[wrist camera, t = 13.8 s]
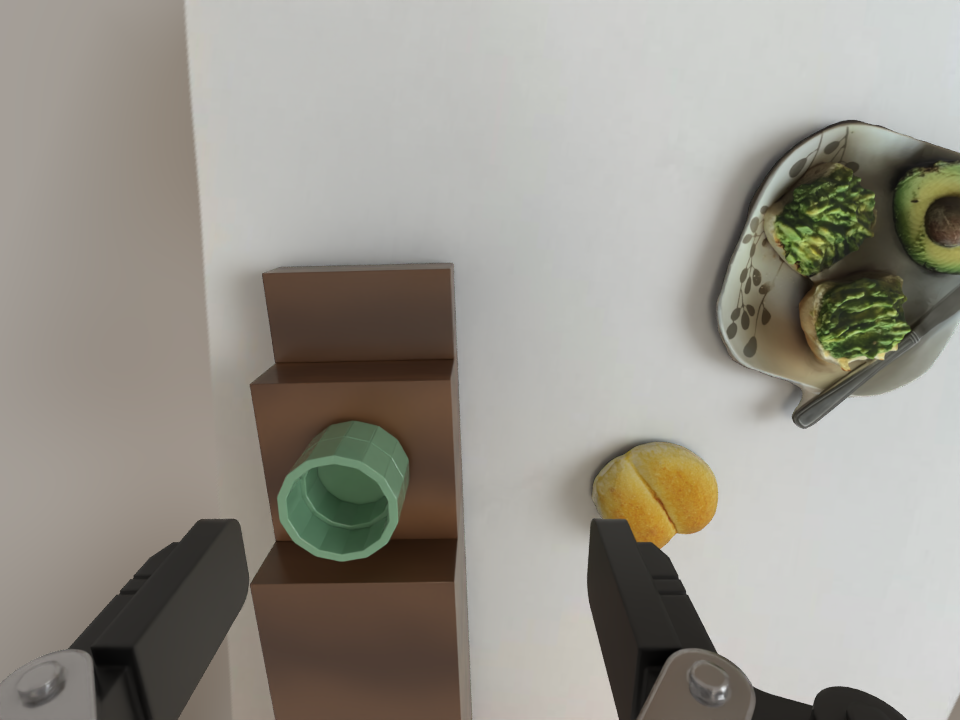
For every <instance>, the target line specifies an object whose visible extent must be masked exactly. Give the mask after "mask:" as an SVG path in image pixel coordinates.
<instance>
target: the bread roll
mask: <svg viewBox="0 0 960 720" xmlns="http://www.w3.org/2000/svg"><path fill="white" fill-rule="evenodd" d="M592 499H593V501H594V504H595V506H596V508H597V510H598V512H599V514H600V516H601V517H602V519H626V520H627V521H628V523H629V526H630V528H631V530H632V532H633V535H634V537H635V539H636V542H652V543H653V544H655V545H656V546H657V547H658V548H659V549H661V548H662V547H663V546H664V545H666V544H667V543H668V542H669V541H670V539H671V538H672V537H673V536H674V535H675V534H676V533H679V534H692V533H695V532H698V531H700V530H701V529H703V528H704V527H705V526H706V525H707V524H708V523H709V522H710V521H711V520H712V518H713V516H714V514H715V512H716V508H717V502H718V487H717V482H716V479H715V476H714V474H713V472H712V470H711V469H710V467H709V466H708V464H706V463H705V462H704V461H703V460H702V459H701V458H700V457H699V456H697V455H696V454H694V453H693V452H691V451H690V450H688V449H686V448H684V447H682V446H679V445H676V444H672V443H667V442H651V443H646V444H642V445H639V446H636V447H634V448H632V449H631V450H630V451H628V452H627V453H626V454H624V455H622V456H619V457H616V458H614V459H613V460H612V461H610V462H609V463H608V464H607V465H605V467H604V468H603V469H602V470H601V471H600V472H599V474H598V475H597V477H596V478H595V480H594V484H593V490H592Z"/></svg>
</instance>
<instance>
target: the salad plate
mask: <svg viewBox="0 0 960 720" xmlns="http://www.w3.org/2000/svg"><path fill="white" fill-rule="evenodd" d="M716 307H717V312H716V314H717V322H718V332H719V334H720V336H721V338H722V341H723V343H724V345H725V347H726V349H727V351H728V353H729V356H730V357H731V358H732V360H734V361H735V362H737V363H739V364H741V365H743V366H744V367H747V368H750V369H754V370H757V371H759V372H761V373H764V374H767V375H769V376H771V377H776V378H779V379H782V380H787V381H789V382H791V383H792V384H794V385H797V386H798V387H800V388H801V389H802V393H803V395H802V399H801V401H800V403H799V405H798V406H797V407H796V408H795V410H794V412H793V414H792V419H793V422H794V423H795V424H796V425H797V426H798V427H799V428H802V429H806V428H808V427H810V426H812V425H814V424H815V423H816V422H818V421H819V420H820V419H821V418H823V417H824V416H825V415H827V414H828V413H829V412H830V411H831V410H833V409H834V408H835V407H836V406H837V405H839V404H840V403H841V402H842V401H843V400H845V399H846V398H847V397H869V396H877V395H881V394H885V393H888V392H890V391H893V390H896V389H898V388H900V387H903V386H905V385H907V384H909V383H911V382H913V381H915V380H917V379H918V378H920V377H921V376H922V375H924V374H925V373H926V372H927V371H928V370H929V369H930V368H931V367H932V366H933V364H934V362H935V361H936V359H937V358H938V357H939V356H940V354H941V353H942V351H943V350H944V349H945V347H946V345H947V343H948V342H949V340H950V338H951V336H952V335H953V333H954V331H955V329H956V327H957V326H958V324H959V322H960V153H958V152H955V151H952V150H949V149H946V148H943V147H940V146H936V145H933V144H931V143H928V142H925V141H921V140H917V139H914V138H912V137H910V136H907V135H903V134H899V133H897V132H894V131H892V130H889V129H887V128H885V127H882V126H879V125H872V124H868V123H864V122H861V121H857V120H847V121H841V122H838V123H836V124H833V125H830V126H827V127H826V128H824V129H822V130H820V131H818V132H816V133H814V134H812V135H811V136H809V137H807V138H805V139H804V140H802V141H801V142H799V143H798V144H797V145H795V146H794V147H793V148H792V149H791V150H789V151H788V152H787V153H786V154H785V155H783V156H782V157H781V159H780V160H779V161H778V162H777V163H776V164H775V165H774V167H773V168H772V169H771V171H770V172H769V173H768V175H767V176H766V177H765V179H764V180H763V182H762V183H761V185H760V186H759V188H758V190H757V191H756V193H755V195H754V197H753V199H752V201H751V203H750V206H749V210H748V217H747V221H746V224H745V227H744V229H743V231H742V234H741V236H740V239H739V241H738V243H737V245H736V248H735V250H734V253H733V254H732V256H731V259H730V262H729V265H728V268H727V273H726V275H725V279H724V282H723V286H722V289H721V293H720V295H719V297H718V300H717V304H716Z"/></svg>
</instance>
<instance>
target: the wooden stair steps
mask: <svg viewBox="0 0 960 720" xmlns="http://www.w3.org/2000/svg"><path fill="white" fill-rule="evenodd" d="M262 277H263V283H264V290H265V297H266V304H267V310H268V317H269V324H270V331H271V337H272V344H273V351H274V357H275V363H276V364H274V365H273V366H272V367H271V368H269V369H268V370H267V371H266V372H264V373H263V374H262V375H261V376H260V377H258V378H257V379H256V380H255V381H253V382H252V383H251V384H250V389H251V395H252V401H253V407H254V413H255V419H256V425H257V431H258V437H259V443H260V449H261V455H262V461H263V467H264V473H265V479H266V485H267V491H268V497H269V503H270V509H271V515H272V521H273V527H274V533H275V539H276V542H275V544H274V546H273V547H272V549H271V551H270V552H269V554H268V555H267V557H266V559H265V560H264V562H263V564H262V565H261V567H260V569H259V570H258V572H257V574H256V575H255V577H254V579H253V580H252V582H251V584H250V588H251V593H252V598H253V604H254V609H255V614H256V620H257V625H258V630H259V635H260V641H261V646H262V651H263V657H264V662H265V667H266V673H267V678H268V683H269V688H270V694H271V699H272V704H273V710H274V715H275V720H472V704H471V680H470V655H469V630H468V606H467V581H466V556H465V531H464V507H463V484H462V483H463V482H462V458H461V433H460V408H459V384H458V359H457V335H456V310H455V286H454V264H453V263H425V264H385V265H344V266H304V267H279V268H276V269H273V270H270V271H268V272H265V273H262ZM348 421H359V422H364V423H368V424H373V425H377V426H380V427H381V428H382V429H384V430H385V431H386V432H388V433H389V434H391V435H392V436H393V437H395V438H396V439H397V440H398V441H399V443H400V445H401V446H402V448H403V450H404V452H405V454H406V455H407V457H408V459H409V484H408V488H407V491H406V495H405V499H404V503H403V506H402V510H401V514H400V518H399V521H398V524H397V526H396V528H395V530H394V532H393V534H392V536H391V538H390V540H389V542H388V543H387V544H386V545H385V546H383V547H382V548H380V549H379V550H377V551H376V552H374V553H373V554H371V555H370V556H368V557H366V558H361V559H355V560H350V561H344V562H342V561H341V562H340V561H335V560H330V559H326V558H321V557H316V556H314V555H313V554H311V553H310V552H308V551H307V550H305V549H303V548H302V547H300V546H299V545H297V544H296V543H294V542H293V540H292V539H291V537H290V536H289V534H288V533H287V531H286V530H285V528H284V527H283V525H282V524H281V522H280V520H279V511H278V502H277V496H278V493H279V491H280V489H281V487H282V484H283V482H284V480H285V477H286V476H287V474H288V473H289V471H290V470H291V468H292V467H293V466H294V464H295V463H296V461H297V460H298V459H299V457H300V456H301V454H302V453H303V452H304V450H305V449H306V447H307V446H308V445H309V443H310V442H311V440H312V439H313V438H314V437H315V436H316V435H318V434H319V433H320V432H322V431H323V430H324V429H326V428H327V427H328V426H330V425H333V424H338V423H343V422H348Z"/></svg>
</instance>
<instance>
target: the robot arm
mask: <svg viewBox="0 0 960 720" xmlns="http://www.w3.org/2000/svg"><path fill="white" fill-rule="evenodd" d="M248 586H249V573H248V567H247V562H246V556H245V550H244V544H243V538H242V532H241V527H240V524H239V522H238V521H237V520H236V519H201V520H199V521H197V522H196V524H195V525H194V526H193V527H192V528H191V530H190V531H189V532H188V533H187V534H186V535H185V536H184V538H183V539H182V540H181V541H180V542H173V543H171V544H170V545H168V546H167V547H165V548H164V549H162V550H161V551H159V552H158V553H156V554H155V555H153V556H152V557H150V558H149V559H148V561H147V562H146V563H145V564H144V565H143V566H142V567H141V568H140V569H139V570H138V572H137V573H136V574H135V575H134V578H133V579H130V580H129V582H128V583H127V584H126V585H125V586H124V587H123V588H122V589H121V590H120V594H119V595H116V596H115V597H114V598H113V599H112V601H111V602H110V603H109V604H108V605H107V606H106V607H105V608H104V609H103V610H102V612H101V613H100V614H99V615H98V616H97V617H96V618H95V619H94V620H93V622H92V623H91V624H90V625H89V626H88V627H87V628H86V629H85V631H84V632H83V633H82V634H81V635H80V636H79V637H78V638H77V639H76V640H75V642H74V643H73V644H72V645H71V646H70V648H68V649H66V650H60V651H56V652H52V653H49V654H46V655H44V656H41V657H39V658H36V659H34V660H32V661H30V662H29V663H27V664H25V665H24V666H22V667H20V668H19V669H17V670H16V671H14V672H13V673H12V674H10V675H9V676H8V677H7V678H6V679H5V680H3V681H2V682H1V683H0V720H178V718H179V716H180V714H181V712H182V711H183V709H184V707H185V706H186V704H187V702H188V700H189V699H190V697H191V695H192V693H193V692H194V690H195V688H196V686H197V685H198V683H199V681H200V679H201V678H202V676H203V674H204V673H205V671H206V669H207V667H208V666H209V664H210V662H211V660H212V658H213V657H214V655H215V653H216V652H217V650H218V648H219V646H220V645H221V643H222V641H223V639H224V638H225V636H226V634H227V632H228V631H229V629H230V627H231V625H232V624H233V622H234V620H235V619H236V617H237V615H238V613H239V612H240V610H241V608H242V606H243V604H244V602H245V599H246V596H247V592H248ZM587 588H588V597H589V604H590V608H591V612H592V616H593V620H594V623H595V627H596V631H597V635H598V639H599V643H600V647H601V651H602V655H603V659H604V662H605V666H606V670H607V674H608V678H609V682H610V686H611V690H612V694H613V698H614V701H615V705H616V709H617V713H618V717H619V720H907V719H906V718H905V717H904V716H903V715H902V714H900V713H899V712H898V711H897V710H895V709H894V708H893V707H891V706H890V705H888V704H887V703H886V702H884V701H882V700H880V699H879V698H877V697H875V696H873V695H871V694H868V693H866V692H863V691H860V690H858V689H853V688H849V687H841V686H838V687H829V688H826V689H824V690H822V691H820V692H819V693H818V694H817V696H816V698H815V700H814V704H813V706H811V705H808V704H804V703H801V702H797V701H793V700H790V699H786V698H782V697H779V696H775V695H772V694H769V693H766V692H763V691H761V690H759V689H757V688H755V687H753V686H752V684H751V682H750V681H749V679H748V678H747V676H746V675H745V674H744V673H743V672H742V670H741V669H740V668H738V667H737V666H736V665H735V664H734V663H732V662H731V661H729V660H728V659H726V658H725V657H723V656H721V655H719V654H718V653H717V652H716V650H715V648H714V646H713V644H712V642H711V640H710V638H709V636H708V634H707V632H706V630H705V628H704V626H703V624H702V622H701V620H700V618H699V616H698V614H697V612H696V610H695V608H694V606H693V604H692V602H691V600H690V598H689V596H688V595H686V590H685V588H684V586H683V584H682V582H681V580H679V578H678V574H677V572H676V570H675V568H674V566H673V564H672V562H671V560H670V558H669V557H668V556H667V555H666V554H665V553H663V552H662V551H661V550H660V549H659V548H658V547H657V546H656V545H655V544H653V543H652V542H636V539H635V537H634V535H633V532H632V530H631V528H630V526H629V523H628V521H627V520H626V519H592V522H591V527H590V542H589V557H588V571H587Z"/></svg>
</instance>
